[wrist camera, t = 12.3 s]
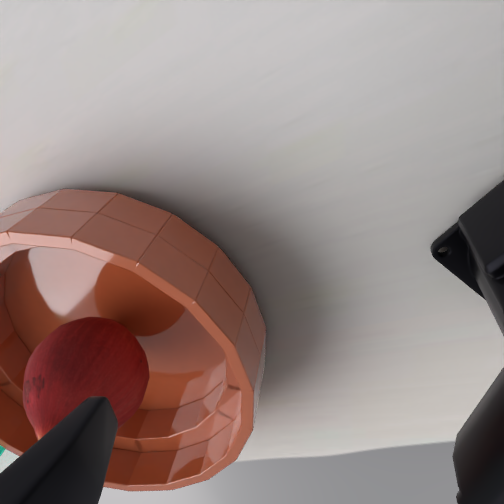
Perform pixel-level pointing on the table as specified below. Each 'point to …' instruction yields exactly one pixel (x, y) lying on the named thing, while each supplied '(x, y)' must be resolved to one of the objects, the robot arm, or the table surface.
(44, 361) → the onion
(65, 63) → the table surface
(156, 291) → the terracotta bowl
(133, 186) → the table surface
